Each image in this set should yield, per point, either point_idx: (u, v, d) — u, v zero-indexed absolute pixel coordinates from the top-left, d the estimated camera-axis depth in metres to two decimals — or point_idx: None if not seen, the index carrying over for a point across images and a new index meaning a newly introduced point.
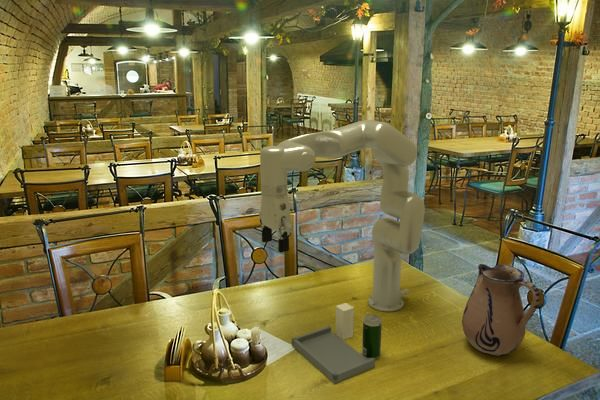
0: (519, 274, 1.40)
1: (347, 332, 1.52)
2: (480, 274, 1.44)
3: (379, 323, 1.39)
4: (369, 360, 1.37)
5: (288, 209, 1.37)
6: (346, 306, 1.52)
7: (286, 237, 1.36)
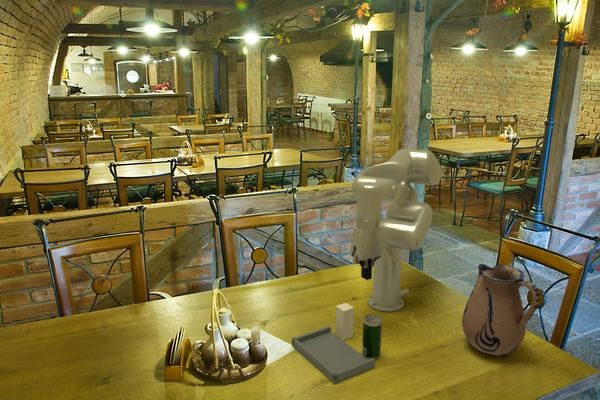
0: (519, 274, 1.40)
1: (347, 332, 1.52)
2: (480, 274, 1.44)
3: (379, 323, 1.39)
4: (369, 360, 1.37)
5: None
6: (346, 306, 1.52)
7: None
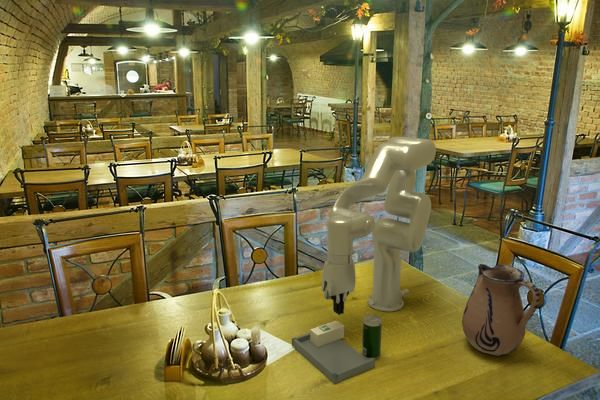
0: (519, 274, 1.40)
1: (338, 334, 1.50)
2: (480, 274, 1.44)
3: (379, 323, 1.39)
4: (369, 360, 1.37)
5: None
6: (313, 336, 1.47)
7: None
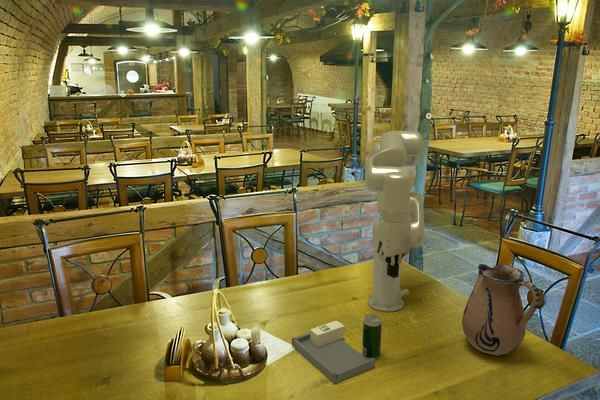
0: (519, 274, 1.40)
1: (338, 334, 1.50)
2: (480, 274, 1.44)
3: (379, 323, 1.39)
4: (369, 360, 1.37)
5: None
6: (313, 336, 1.47)
7: None
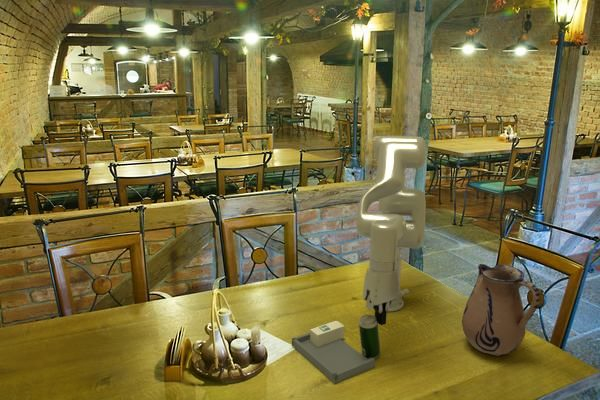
0: (519, 274, 1.40)
1: (338, 334, 1.50)
2: (480, 274, 1.44)
3: (375, 324, 1.37)
4: (369, 360, 1.37)
5: None
6: (313, 336, 1.47)
7: None
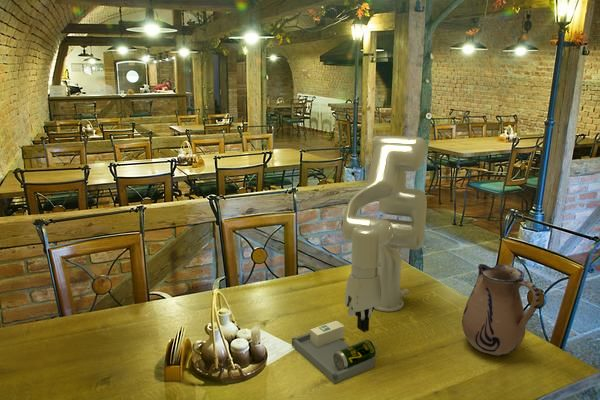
0: (519, 274, 1.40)
1: (338, 334, 1.50)
2: (480, 274, 1.44)
3: (345, 367, 1.33)
4: (369, 360, 1.37)
5: None
6: (313, 336, 1.47)
7: None
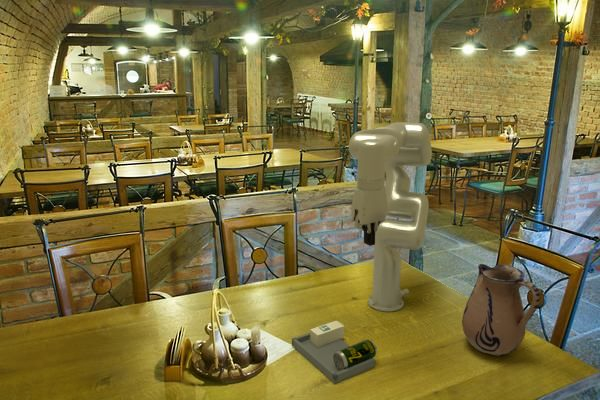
0: (519, 274, 1.40)
1: (338, 334, 1.50)
2: (480, 274, 1.44)
3: (345, 367, 1.33)
4: (369, 360, 1.37)
5: None
6: (313, 336, 1.47)
7: None
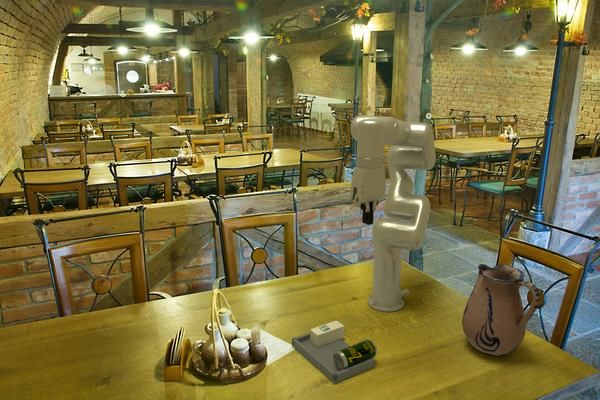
0: (519, 274, 1.40)
1: (338, 334, 1.50)
2: (480, 274, 1.44)
3: (345, 367, 1.33)
4: (369, 360, 1.37)
5: None
6: (313, 336, 1.47)
7: None
